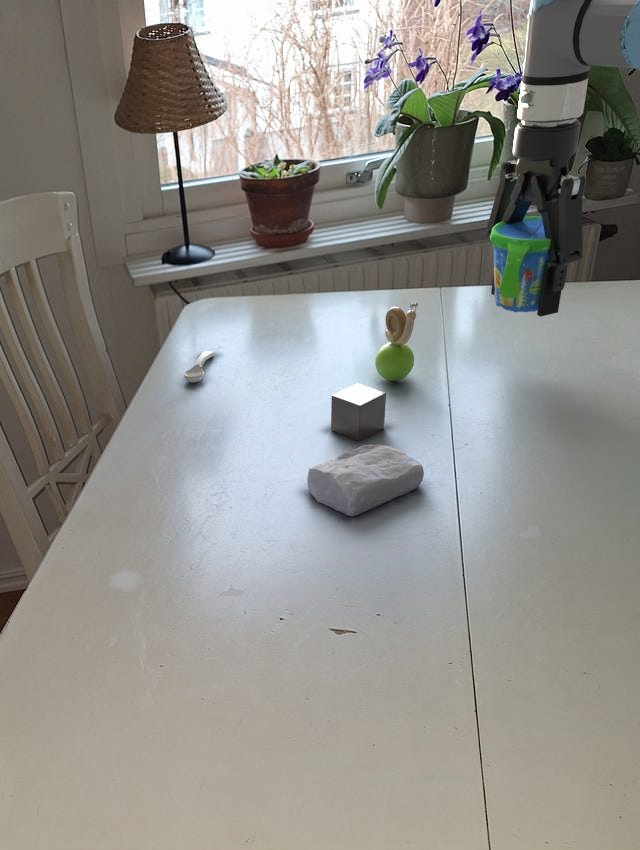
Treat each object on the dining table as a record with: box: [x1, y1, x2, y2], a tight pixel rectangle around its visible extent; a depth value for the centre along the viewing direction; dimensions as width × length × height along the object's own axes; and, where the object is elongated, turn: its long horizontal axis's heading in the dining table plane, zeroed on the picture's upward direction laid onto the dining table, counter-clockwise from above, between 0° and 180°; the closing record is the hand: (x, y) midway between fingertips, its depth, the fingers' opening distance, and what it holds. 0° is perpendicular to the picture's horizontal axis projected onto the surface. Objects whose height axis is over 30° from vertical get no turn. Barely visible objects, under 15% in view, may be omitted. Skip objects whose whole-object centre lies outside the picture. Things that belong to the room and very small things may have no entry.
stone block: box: [306, 444, 425, 517], centre depth 110 cm, size 12×5×10 cm
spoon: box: [183, 350, 216, 383], centre depth 143 cm, size 3×12×2 cm, turn 164°
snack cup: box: [489, 216, 560, 313], centre depth 124 cm, size 16×10×10 cm
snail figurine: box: [374, 302, 419, 382], centre depth 130 cm, size 5×6×12 cm
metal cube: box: [330, 382, 387, 442], centre depth 121 cm, size 5×5×5 cm
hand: (523, 302), depth 127 cm, fingers closed on snack cup, 10 cm apart
